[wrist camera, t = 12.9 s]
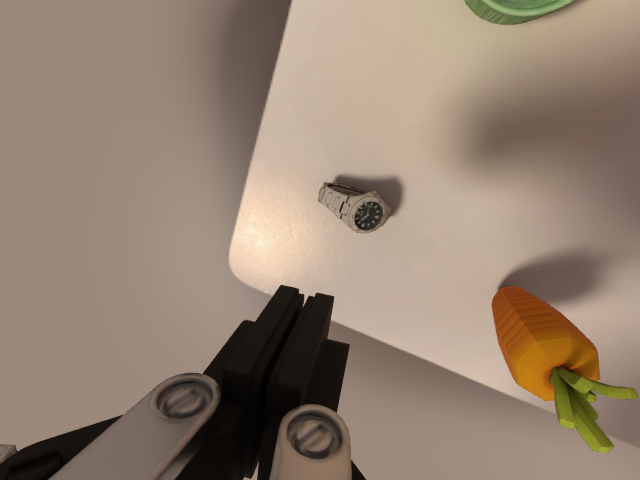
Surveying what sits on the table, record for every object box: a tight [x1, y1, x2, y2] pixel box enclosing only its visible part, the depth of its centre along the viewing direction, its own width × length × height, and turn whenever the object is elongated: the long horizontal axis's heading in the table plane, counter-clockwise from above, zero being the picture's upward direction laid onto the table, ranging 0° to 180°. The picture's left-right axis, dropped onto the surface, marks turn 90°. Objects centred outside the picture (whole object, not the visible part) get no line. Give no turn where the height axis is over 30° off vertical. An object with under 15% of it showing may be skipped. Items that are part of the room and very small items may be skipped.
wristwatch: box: [318, 183, 391, 233], centre depth 28 cm, size 4×6×5 cm, turn 71°
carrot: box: [492, 287, 638, 453], centre depth 23 cm, size 5×5×15 cm
